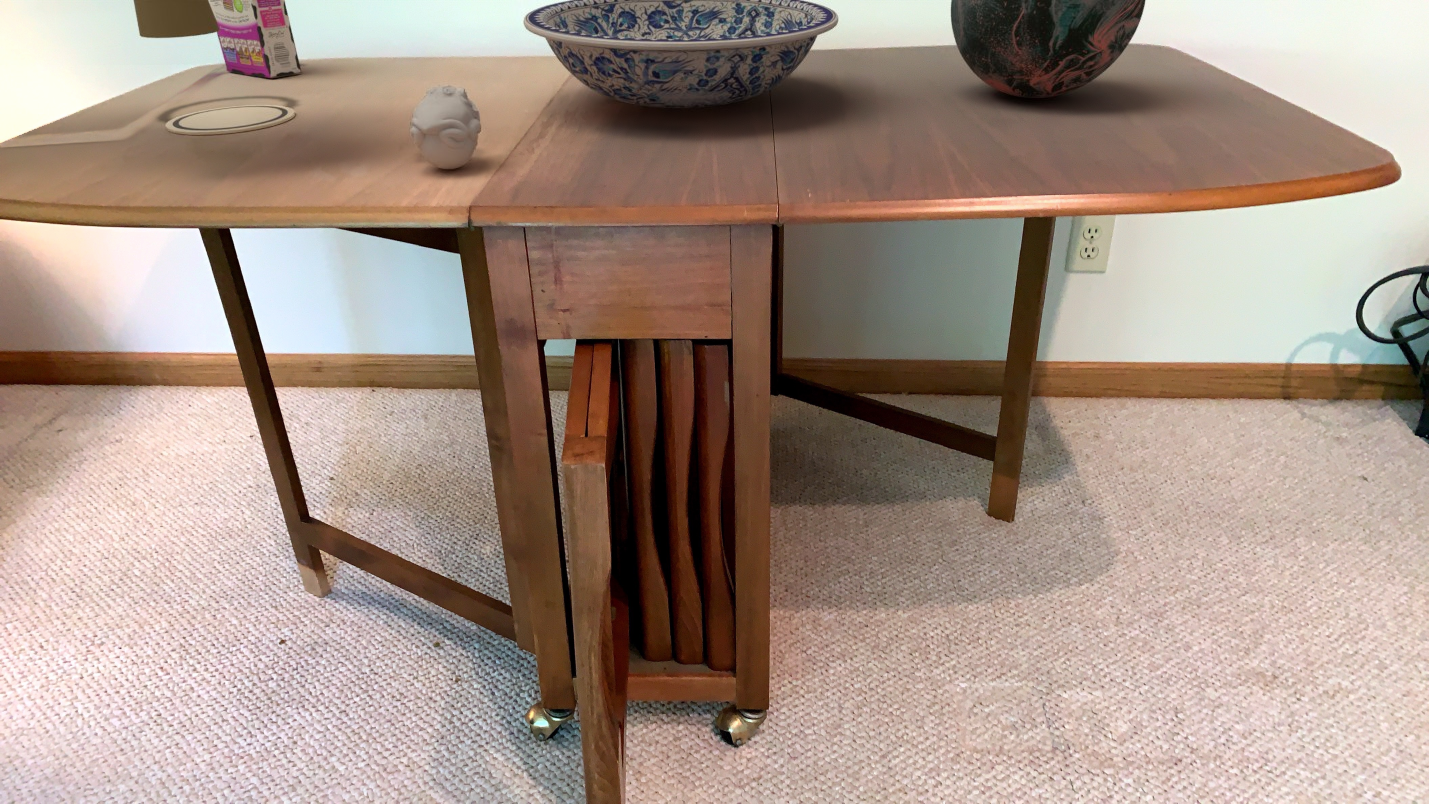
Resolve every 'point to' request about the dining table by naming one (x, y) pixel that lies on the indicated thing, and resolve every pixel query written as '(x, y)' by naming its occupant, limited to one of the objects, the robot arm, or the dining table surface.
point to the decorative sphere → (1042, 41)
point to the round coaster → (230, 119)
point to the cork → (174, 18)
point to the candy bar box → (256, 37)
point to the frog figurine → (446, 127)
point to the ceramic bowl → (681, 46)
